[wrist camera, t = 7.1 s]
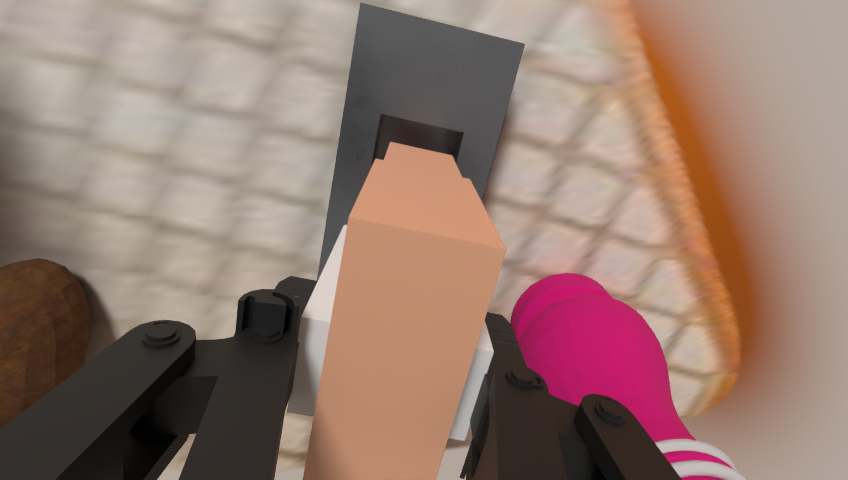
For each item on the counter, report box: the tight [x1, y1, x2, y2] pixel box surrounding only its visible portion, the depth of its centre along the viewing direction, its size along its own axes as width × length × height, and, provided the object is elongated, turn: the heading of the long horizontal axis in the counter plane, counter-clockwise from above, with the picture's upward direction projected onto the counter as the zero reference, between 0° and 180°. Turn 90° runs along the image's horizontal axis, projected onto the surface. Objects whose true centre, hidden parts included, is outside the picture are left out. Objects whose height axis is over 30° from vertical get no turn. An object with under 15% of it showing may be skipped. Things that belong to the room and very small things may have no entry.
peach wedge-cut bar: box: [303, 142, 506, 480], centre depth 14 cm, size 3×8×10 cm, turn 167°
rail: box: [317, 3, 525, 281], centre depth 23 cm, size 7×18×4 cm, turn 167°
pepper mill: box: [511, 273, 746, 480], centre depth 18 cm, size 7×7×20 cm
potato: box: [0, 258, 90, 429], centre depth 24 cm, size 7×10×7 cm
